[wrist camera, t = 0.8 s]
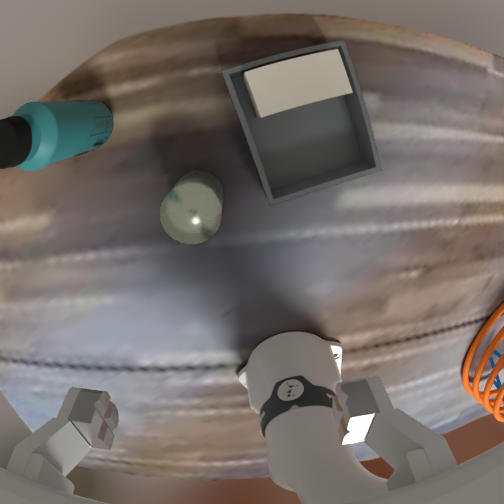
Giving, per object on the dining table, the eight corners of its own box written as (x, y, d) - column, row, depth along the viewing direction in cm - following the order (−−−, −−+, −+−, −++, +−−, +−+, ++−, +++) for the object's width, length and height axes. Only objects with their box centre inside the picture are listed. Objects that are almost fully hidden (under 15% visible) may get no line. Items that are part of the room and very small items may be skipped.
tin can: (230, 208, 40) (230, 232, 32) (185, 225, 41) (174, 252, 33) (213, 162, 38) (207, 175, 30) (166, 181, 38) (150, 198, 30)
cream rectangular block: (333, 95, 34) (352, 92, 28) (256, 117, 35) (261, 117, 29) (321, 58, 32) (337, 48, 26) (242, 79, 33) (244, 72, 27)
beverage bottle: (94, 90, 32) (-6, 85, 14) (129, 119, 34) (42, 130, 16) (67, 130, 34) (-36, 156, 16) (100, 159, 36) (7, 203, 18)
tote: (365, 163, 38) (381, 170, 34) (265, 195, 40) (270, 206, 35) (330, 48, 32) (343, 40, 27) (223, 76, 33) (221, 71, 28)
